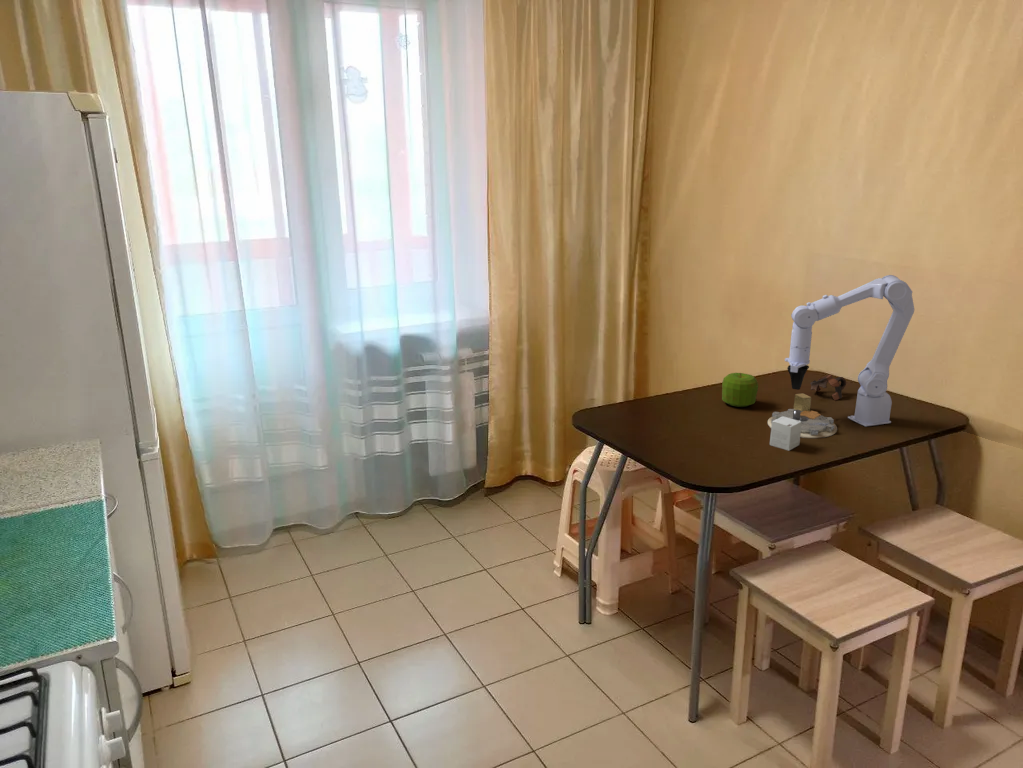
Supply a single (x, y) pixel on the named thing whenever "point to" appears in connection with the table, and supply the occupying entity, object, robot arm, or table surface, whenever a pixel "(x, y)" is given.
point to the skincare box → (785, 433)
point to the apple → (739, 389)
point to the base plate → (807, 435)
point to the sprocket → (808, 420)
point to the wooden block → (802, 402)
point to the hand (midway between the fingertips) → (796, 388)
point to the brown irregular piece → (833, 382)
